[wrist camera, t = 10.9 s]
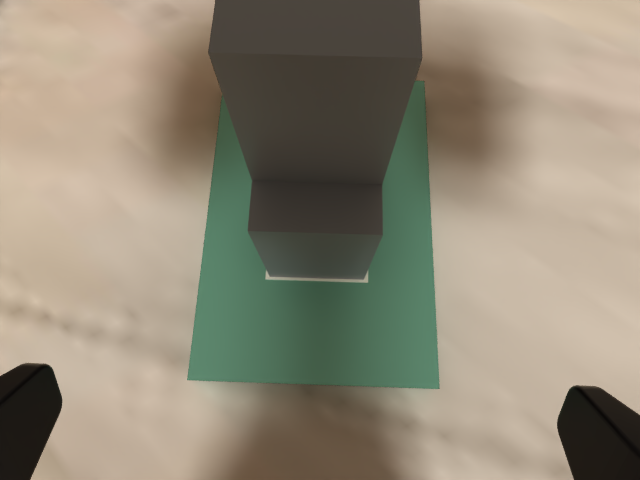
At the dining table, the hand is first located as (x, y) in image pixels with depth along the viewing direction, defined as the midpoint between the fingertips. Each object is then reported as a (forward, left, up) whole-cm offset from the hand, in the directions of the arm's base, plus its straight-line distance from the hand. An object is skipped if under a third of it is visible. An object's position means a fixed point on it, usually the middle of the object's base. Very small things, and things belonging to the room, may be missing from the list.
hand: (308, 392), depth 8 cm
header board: (+6, +5, -13) cm, 15 cm away
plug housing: (+6, +5, -12) cm, 14 cm away
